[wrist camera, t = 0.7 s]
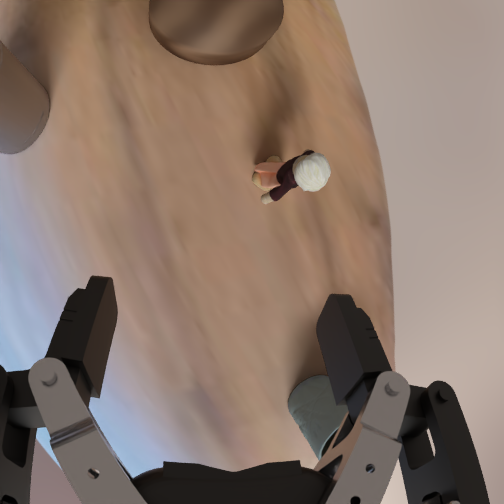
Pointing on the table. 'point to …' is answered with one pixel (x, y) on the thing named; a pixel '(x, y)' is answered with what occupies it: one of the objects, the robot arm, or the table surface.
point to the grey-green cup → (316, 412)
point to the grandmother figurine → (291, 174)
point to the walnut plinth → (214, 28)
